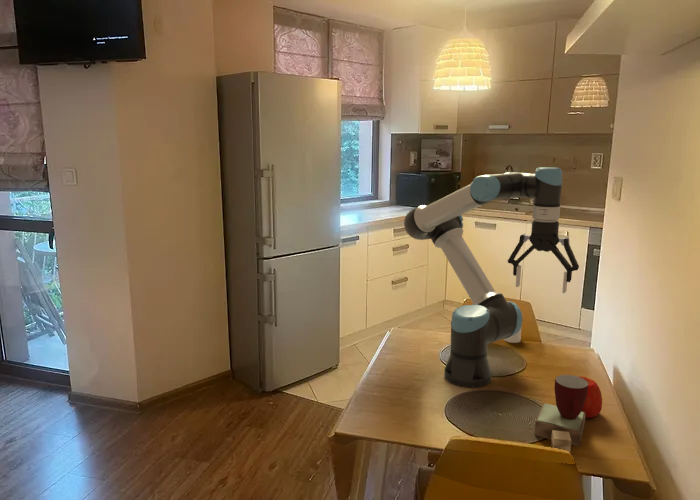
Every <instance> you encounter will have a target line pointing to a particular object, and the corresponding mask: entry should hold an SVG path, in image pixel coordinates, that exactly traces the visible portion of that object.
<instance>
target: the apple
mask: <svg viewBox="0 0 700 500" xmlns="http://www.w3.org/2000/svg"><path fill="white" fill-rule="evenodd" d="M579 377H580V378H583V379H584V380H586V381H587V383H588V392H587V397H586V400H585V403H584V406H583V409H582V411H581V412H584V413H586V416H585V419H591V418H594V417H596V416H598V415H599V414H600V413H601V411H602V408H603V407H602V406H603V397H602V391H601V389H600V386H599V385H598V383H597V382H596V381H595V380H593V379H591V378H589V377H586V376H579Z"/></svg>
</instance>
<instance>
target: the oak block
mask: <svg viewBox="0 0 700 500" xmlns="http://www.w3.org/2000/svg"><path fill="white" fill-rule="evenodd" d="M550 446H551V448H552V447H554V448H558V449H563V450H567V451H569V452H570V453H571V448H572V445H571V438H570V434H569V432H564V431H556V430H552V438H551V439H550Z"/></svg>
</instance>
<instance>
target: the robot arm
mask: <svg viewBox="0 0 700 500" xmlns="http://www.w3.org/2000/svg"><path fill="white" fill-rule="evenodd" d="M563 183H564V182H563V170H562V168H560V167H555V166H554V167H553V166H552V167H549V166H548V167H546V166H543V167H541V166H539V167H537V168H536V169H535V172H534V173H530V172H529V173H527V172H519V171H507V172H504V173H495V174H488V173H487V174H483V175H478V176H476V177H475V178H473V180H472V182H471V183H470V184H468V185H466V186H463V187H461V188H459V189H458V190H456V191H454V192H452V193H450V194H448V195H446V196H444V197H442V198H440V199H438V200H435V201H433V202H431V203H429V204H428V205H425V204H424V205H423V204H422V205H418V206H417V207H415V208H413V209H411V210H409V212H408V213H406V215H405V216H404V221H403V227H404V230H405V232H406V234H407V235H408V236H409V237H411V238H413V239H414V240H419V241H424V240H425V241H426V240H431V241H432V244H433V245H434V247H435V248H438V249H441V250H442V252H443V255H444V256H445V258H446V259H447V261H448V263H449V264H450V266H451V268H452V270H453V272H454V273H455V275H456V276H457V278H458V280H459V281H460V283H461V285H462V287H463V288H464V290H465V293H466V294H467V295H468V297H469V299H470V300H471V302H472V304H464V305H460V306H459V307H457V308H455V309H454V310H453V312H452V315H451V321H450V353H449V356H448V359H447V362H446V364H445V367H444V374H443V376H444V377H443V378H444V379H445V380H446V381H447V382H448V383H450V384H451V385H455V386H458V387H462V388H471V389H472V388H473V389H474V388H475V389H476V388H482V387H486V386H487V385H489V384H491V382H492V376H493V375H492V368H491V366H490V364H489V359H488V345H489V344H492V343H494V342H499V341H501V340H504V339H506V338H509V337H511V336H513V335H515V334H517V333H518V332H519V330H520V329H521V330H522V327H521V326H523V322H524V321H523V320H524V319H523V313H522V310H521V308H520V307H519V305H518V304H516V302H515V303H514V302H513V301H510V300H508V301H507V300H506V298H505V296H504V294H503V293H501V292H498V291H496V290H495V288H494V287H493V285H492V284H491V283H492V282H490V280H489V278H488V277H487V275H486V273H485V272H484V271H483V269H482V267H481V265H480V264H479V262H478V260H477V259H476V257H475V255H474V254H473V252H472V251H471V249H470V247H469V245H468V244H467V243H466V240H465V239H464V237H463V235H464V222H463V221H464V218H463V215H464V214H467V213H468V212H470V211H472V210H475V209H478V208H480V207H482V206H484V205H487V204H489V203H492V202H494V201H497V200H506V199H507V200H508V199H516V198H523V199H532V200H533V201H532V203H533V204H532V216H531V217H532V219H533V220H532V221H531V231H530V232H531V233H530V235H527V234H526V233H522V234H521V235H520V236H519V239H518V243H517V244H516V246H515V247H514V249H513V251H512V253H511V254H510V256H509V258H508V259H507V263H508V264H511V265H512V267H513V270H512V271H513V272H512V274H513V276H515V288H519V287H520V286H521V280H522V279H521V277H522V264H520V263H521V262H522V261H523V260H524V259H525V258H526V257H528V256H529V255H530V254H531V253H532V252H533V251H534V250H536V251H537V252H547V253H549V252H551V253H552V254H553V255H555V257H556V259H557V260H558V262H560V264H561V265H562V267H564V269H565V270H564V271H563V278H562V279H563V280H562V281H563V282H562V291H561V292H562V294H566V293H567V288H568V283H571V281H572V275H573V271H578V270H579V268H580V265H579V263H578V261H577V258H576V257H575V254H574V252H573V249H572V247H571V245H570V237H562V238H561V237H559V228H560V227H559V226H560V222H559V221H558V220H560V216H561V215H560V214H561V198H562V197H561V196H562V188H563ZM527 241H529V242H530V243H531V246H530V247H528V248H527V249H526V251H524V253H522V254H521V255H520V256H519V257H518V258H517V259H516V257H517V255H518V254H519V252H520V251H521V249H522V247H523V246H524V243H527ZM559 243H560V244H561V246H563V247H564V250H565V253H566V255H567V258H568V259H569V262H570V263H569V262H568V260H567V259H566V257H565V256H564V255H563V254H562V252H561V250H560V249H559V247H558V246H557V245H558V244H559Z"/></svg>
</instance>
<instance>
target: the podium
mask: <svg viewBox="0 0 700 500" xmlns="http://www.w3.org/2000/svg"><path fill="white" fill-rule="evenodd" d="M585 416H586V413H584V412H581V413H580V414H579V415H578V417H577V418H576V419H573V420H570V419H565V418H563V417H562V416H561V415H560V413H559V411H558V408H557V406H556V404H555V405H554V404H550V403H546V402H545V403H542V405H541V407H540V410H539V412H538V415H537V417H536V420H535V423H534V436H536V437H537V436H538V437H541V438H543V439H544V438H545V439H549V440H551V438H552V430H556V431H564V432H569V434H570V438H571V446H575V447H580V445H581V441H582V437H583V434H584V429H585V423H586V418H585Z"/></svg>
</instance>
